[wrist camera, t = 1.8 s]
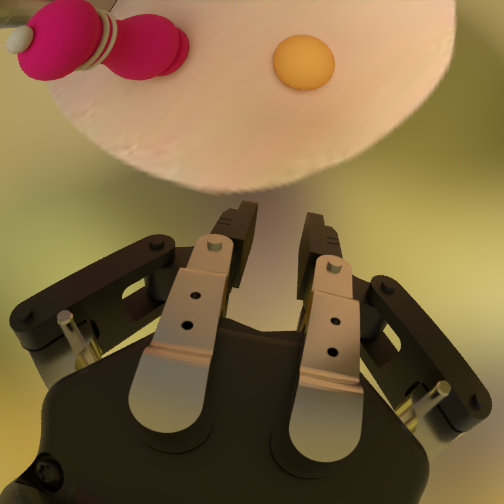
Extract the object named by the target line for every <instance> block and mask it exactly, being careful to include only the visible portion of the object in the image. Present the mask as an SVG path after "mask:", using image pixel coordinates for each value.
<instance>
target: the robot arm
mask: <svg viewBox="0 0 504 504" xmlns="http://www.w3.org/2000/svg"><path fill="white" fill-rule="evenodd" d="M53 1H55V0H0V29H3V28H16V27H20V26H26V25H27V23H28V21H29V20H30V19H31V18H32V17H33V15H34V14H35V13H36V12H37V11H39V10H40V9H41V8H42V7H44V6H45V5H47V4H49V3H51V2H53ZM85 1H88V2H89V3H91V4H92V5H93V7H94V8H95V9H100V10H105V11H107V12H109V10H110V9H111V8H112V6H113V5H114V3H115V1H116V0H85ZM257 210H258V203H255V202H249V201H242V203H241V205H240V207H239V209H238V210H236V209H228V210H227V211H225V212H223V213H222V215H221V217H220V219H219V220H218V221H217V223H216V225H215V227H214V228H213V230H212V232H211V233H210V234H209V235H204V236H202V237H200V238H199V239H198V240H197V242H196V244H195V246H192V247H175V241H174V240H173V239H172V238H171V237H170V236H166V235H161V234H157V235H151V236H148V237H145V238H143V239H141V240H139V241H137V242H135V243H133V244H131V245H128V246H127V247H124V248H122V249H121V250H118V251H116V252H114V253H112V254H110V255H108V256H106V257H104V258H102V259H100V260H98V261H96V262H94V263H92V264H90V265H88V266H86V267H85V268H83V269H81V270H79V271H77V272H75V273H73V274H71V275H69V276H68V277H66V278H64V279H62V280H60V281H58V282H57V283H55V284H53V285H51V286H49V287H48V288H46V289H44V290H42V291H41V292H39V293H37V294H35V295H33V296H32V297H30V298H28V299H27V300H25V301H23V302H21V303H20V304H19V305H18V306H16V307H15V309H14V310H13V311H12V313H11V315H10V320H9V322H10V326H11V328H12V329H13V331H14V333H15V334H16V336H17V337H18V339H19V340H20V343H21V345H22V347H23V348H24V349H25V351H26V352H27V354H28V355H29V356H30V358H31V359H32V361H33V362H34V363H35V365H36V367H37V369H38V371H39V373H40V375H41V377H42V379H43V381H44V383H45V385H46V387H47V388H48V390H49V391H48V393H47V394H46V397H45V399H44V402H43V405H42V410H41V439H40V445H39V450H38V454H37V457H36V459H35V460H34V462H33V463H32V464H31V465H30V467H29V468H28V469H27V470H26V471H25V472H24V473H22V474H21V475H20V476H19V477H18V478H16V479H15V480H14V481H12V482H11V483H10V484H9V485H7V486H6V487H5V488H4V490H3V491H2V493H1V495H0V504H418V503H419V501H420V498H421V496H422V494H423V492H424V490H425V487H426V485H427V481H428V478H429V462H430V461H431V460H432V459H433V458H435V457H436V456H437V455H438V454H439V453H440V452H441V451H442V450H444V449H445V448H446V447H447V446H448V445H449V444H450V443H451V442H452V441H454V440H455V439H457V438H458V437H460V436H461V435H463V434H464V433H466V432H467V431H469V430H470V429H472V428H473V427H474V426H476V425H477V424H478V423H480V422H481V421H483V420H484V419H485V418H487V417H488V415H489V414H490V412H491V409H492V401H491V397H490V394H489V393H488V391H487V389H486V388H485V387H484V385H483V384H482V382H481V381H480V380H479V378H478V377H477V375H476V374H475V373H474V372H473V370H472V369H471V367H470V366H469V365H468V363H467V362H466V361H465V360H464V358H463V357H462V356H461V354H460V353H459V352H458V351H457V349H456V348H455V347H454V346H453V344H452V343H451V342H450V341H449V339H448V338H447V337H446V336H445V335H444V333H443V332H442V331H441V330H440V329H439V327H438V326H437V325H436V324H435V323H434V322H433V320H432V319H431V318H430V317H429V316H428V315H427V314H426V312H425V311H424V310H423V309H422V308H421V307H420V306H419V305H418V303H417V302H416V301H415V300H414V299H413V298H412V297H411V296H410V295H409V294H408V292H407V291H406V290H405V289H404V288H403V287H402V286H401V285H400V284H399V283H398V282H397V281H395V280H394V279H392V278H390V277H388V276H384V275H377V276H374V277H373V278H372V280H371V282H370V283H369V282H367V281H364V280H362V279H359V278H357V277H355V276H354V275H352V268H351V266H350V265H349V263H348V262H346V261H345V260H344V259H343V258H342V253H341V248H340V243H339V239H338V234H337V232H336V231H335V230H334V229H333V228H332V227H329V226H325V225H324V219H323V215H320V214H315V213H310V212H307V215H306V220H305V224H304V228H303V233H302V237H301V241H300V246H299V255H298V257H299V258H298V281H297V299H299V300H303V307H302V310H301V312H300V317H299V321H298V326H297V330H296V331H272V332H262V331H258V330H255V329H253V328H251V327H248V326H246V325H243V324H241V323H239V322H236V321H234V320H231V319H228V318H226V315H227V308H228V301H229V294H230V292H231V289H232V287H234V288H239V286H240V282H241V279H242V276H243V272H244V269H245V266H246V263H247V259H248V256H249V253H250V250H251V247H252V243H253V238H254V232H255V225H256V217H257ZM142 278H144V281H145V286H144V287H142V288H141V289H139V290H137V291H136V292H134V293H132V294H131V295H129V296H127V297H126V298H124V299H122V294H123V292H124V290H125V289H126V288H127V287H128V286H130V285H132V284H134V283H135V282H137V281H139V280H141V279H142ZM159 316H161V318H160V320H159V323H158V325H157V328H156V331H155V332H153V333H151V334H150V335H148V336H146V337H144V338H142V339H140V340H138V341H136V342H134V343H132V344H130V345H128V346H126V347H124V348H122V349H120V350H118V351H116V352H114V353H112V354H110V355H108V356H106V357H104V358H102V355H103V354H105V353H106V352H108V351H109V350H111V349H112V348H114V347H115V346H116V345H118V344H119V343H121V342H122V341H124V340H125V339H127V338H128V337H130V336H131V335H133V334H134V333H136V332H137V331H139V330H140V329H141V328H143V327H145V326H146V325H147V324H149V323H150V322H152V321H153V320H155V319H156V318H158V317H159ZM387 323H388V324H389V325H390V327H391V328H392V329H393V330H394V332H395V333H396V334H397V336H398V337H399V339H400V341H401V349H400V351H399V352H398V351H397V349H396V348H395V346H394V345H393V344H392V343H391V341H390V340H389V338H388V337H387V336H386V335H385V333H384V332H383V330H384V328H385V327H386V325H387ZM360 357H361V359H362V361H363V362H364V364H365V365H366V367H367V368H368V370H369V371H370V373H371V374H372V376H373V377H374V379H375V380H376V382H377V384H378V385H379V387H380V388H381V390H382V391H383V393H384V394H385V396H386V398H387V399H388V401H389V402H390V404H391V406H392V407H393V409H394V410H395V412H394V411H393V410H392V409H391V408H390V406H389V405H388V404H387V403H386V402H385V400H384V399H383V398H382V397H381V396H380V395H379V393H378V392H377V391H376V390H375V389H374V388H373V386H372V385H371V384H370V383H369V382H368V380H367V379H366V378H365V377H364V376H363V374H362V373H361V372H360V371H359V370H360ZM101 358H102V359H101Z"/></svg>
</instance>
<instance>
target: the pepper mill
mask: <svg viewBox="0 0 504 504" xmlns="http://www.w3.org/2000/svg"><path fill="white" fill-rule="evenodd" d="M6 48H7V50H8V52H10V53H12V54H18V61H19V64H20V67H21V69H22V70H23V71H24V73H26V74H27V75H28V76H29V77H31V78H33V79H36V80H41V81H49V80H56V79H59V78H63V77H64V76H66V75H68V74H70V73H72V72H73V71H80V70H89V69H92V68H94V67H96V66H97V65H99V64H104V65H105V66H107V67H108V68H109V69H110V70H111V71H112V72H114V73H115V74H117V75H119V76H121V77H123V78H125V79H131V80H146V79H150V78H153V77H155V76H164V75H168V74H170V73H172V72H174V71H175V70H177V69H178V68H179V67H180V66H181V65H182V64H183V62H184V61H185V59H186V57H187V54H188V50H189V41H188V39H187V36H186V34H185V33H184V32H183V31H182V30H180V29H179V28H177V27H175V25H174V24H173V23H172V22H171V21H170V20H168V19H167V18H165V17H162V16H159V15H154V14H142V15H136V16H133V17H130V18H127V19H124V20H116V19H115V17H114V16H113V15H112V14H111V13H110V12H107V11H105V10H100V9H95V8H94V7H93V5H92V4H91V3H89V2H88V1H85V0H55V1H53V2H51V3H49V4H47V5H45V6H44V7H42V8H41V9H40V10H39V11H37V12H36V13H35V14H34V15H33V17H32V18H31V19H30V20H29V21H28V23H27V25H26V26H20V27H18V28H16V29H15V30H14V31H12V32H11V34H10V35H9V37H8V39H7V42H6Z"/></svg>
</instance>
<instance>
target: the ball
mask: <svg viewBox="0 0 504 504" xmlns="http://www.w3.org/2000/svg"><path fill="white" fill-rule="evenodd" d="M273 66H274V69H275V72H276V74H277V75H278V77H279V78H280V79H281V80H282V81H283V82H284V83H286V84H287V85H289V86H291V87H293V88H296V89H300V90H312V89H316V88H319V87H321V86H323V85H324V84H325V83H327V82H328V81H329V79H330V78H331V76H332V75H333V72H334V68H335V61H334V57H333V54H332V52H331V50H330V49H329V47H328V46H327V45H326V44H325V43H324V42H322V41H321V40H319V39H317V38H315V37H312V36H308V35H295V36H292V37H289V38H287V39H285V40H284V41H282V42H281V43H280V44H279V45H278V47H277V48H276V50H275V52H274V56H273Z"/></svg>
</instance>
